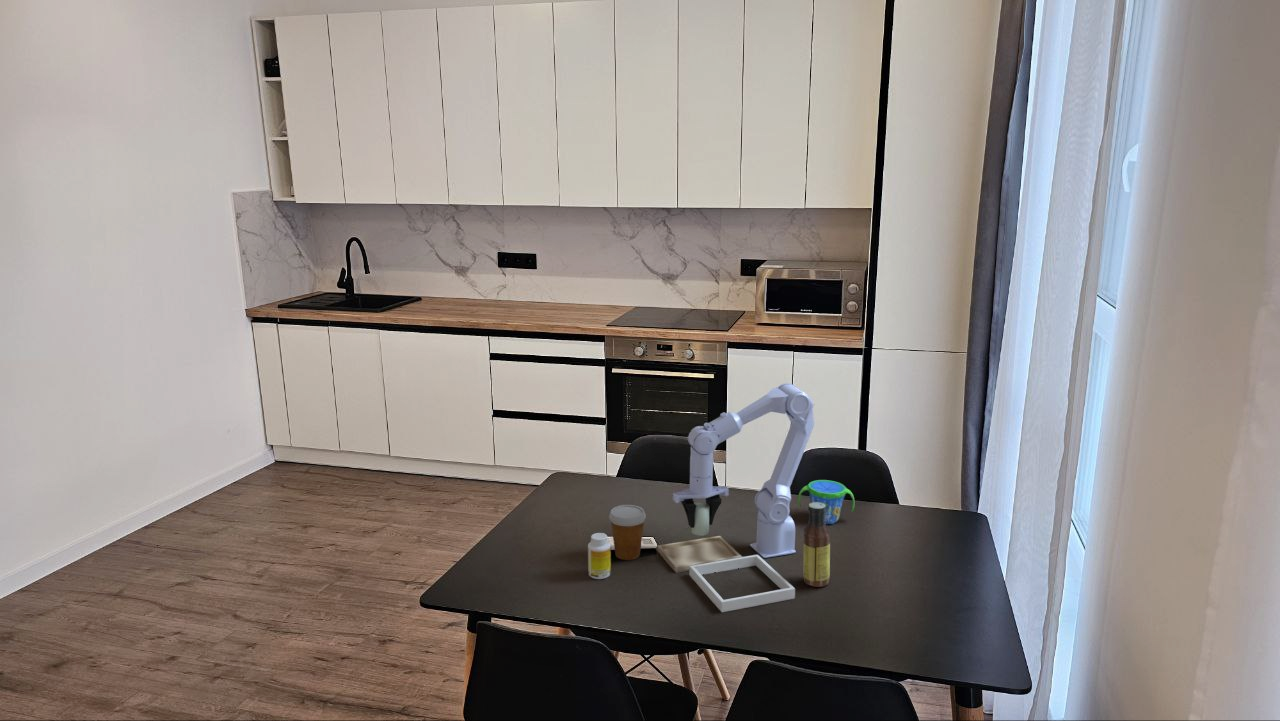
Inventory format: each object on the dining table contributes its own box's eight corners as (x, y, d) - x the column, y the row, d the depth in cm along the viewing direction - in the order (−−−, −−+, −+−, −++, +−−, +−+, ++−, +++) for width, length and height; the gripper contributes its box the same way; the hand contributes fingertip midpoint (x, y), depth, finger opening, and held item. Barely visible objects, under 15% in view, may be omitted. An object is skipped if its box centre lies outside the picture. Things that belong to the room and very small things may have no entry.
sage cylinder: (707, 527, 214) (707, 502, 213) (710, 535, 210) (711, 509, 208) (690, 528, 214) (690, 503, 212) (693, 536, 209) (693, 510, 208)
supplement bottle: (614, 576, 203) (614, 538, 201) (594, 582, 200) (593, 543, 198) (604, 567, 208) (604, 529, 206) (584, 572, 205) (583, 534, 203)
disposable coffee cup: (642, 564, 209) (642, 520, 207) (605, 561, 211) (604, 517, 208) (649, 548, 218) (649, 505, 216) (613, 545, 220) (613, 502, 217)
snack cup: (853, 515, 239) (856, 482, 237) (852, 530, 229) (855, 496, 227) (798, 509, 243) (800, 477, 241) (795, 524, 233) (797, 490, 231)
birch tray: (719, 540, 223) (720, 535, 222) (741, 561, 211) (741, 556, 210) (657, 550, 217) (657, 545, 217) (675, 573, 205) (676, 567, 205)
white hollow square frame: (757, 563, 210) (757, 554, 209) (794, 598, 193) (795, 588, 192) (689, 575, 204) (689, 565, 203) (721, 612, 187) (722, 602, 186)
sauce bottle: (830, 578, 202) (834, 501, 198) (827, 590, 197) (831, 511, 192) (803, 574, 204) (807, 498, 200) (799, 585, 199) (803, 508, 194)
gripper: (720, 465, 215) (719, 514, 218) (668, 472, 210) (668, 522, 213) (732, 474, 208) (731, 525, 211) (679, 482, 203) (678, 533, 206)
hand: (700, 524), depth 211 cm, fingers closed on sage cylinder, 4 cm apart
